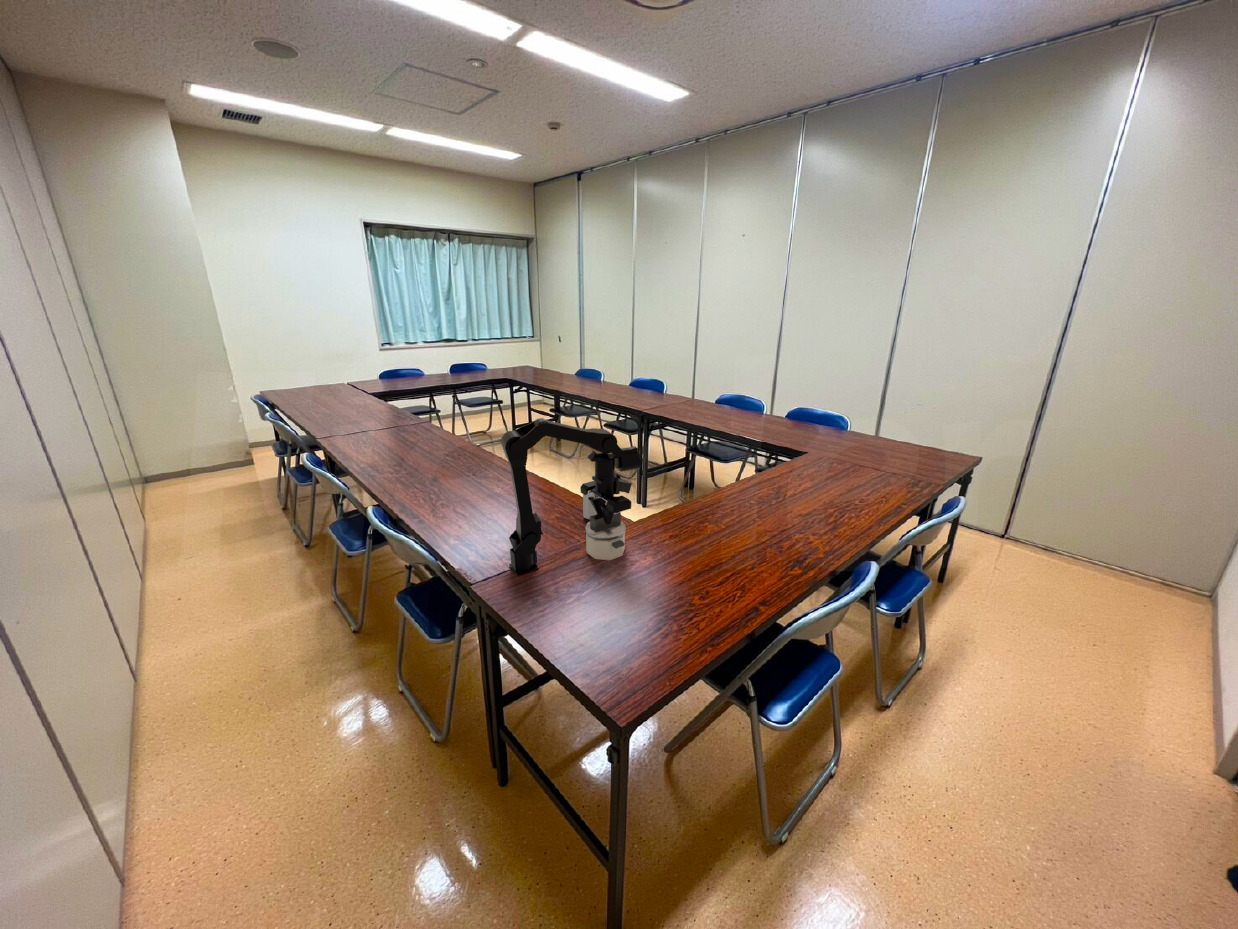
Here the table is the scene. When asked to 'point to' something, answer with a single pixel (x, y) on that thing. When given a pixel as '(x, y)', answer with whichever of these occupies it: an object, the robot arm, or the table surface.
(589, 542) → the cooker pot
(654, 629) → the table surface
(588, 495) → the photo printer
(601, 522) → the cooker lid
